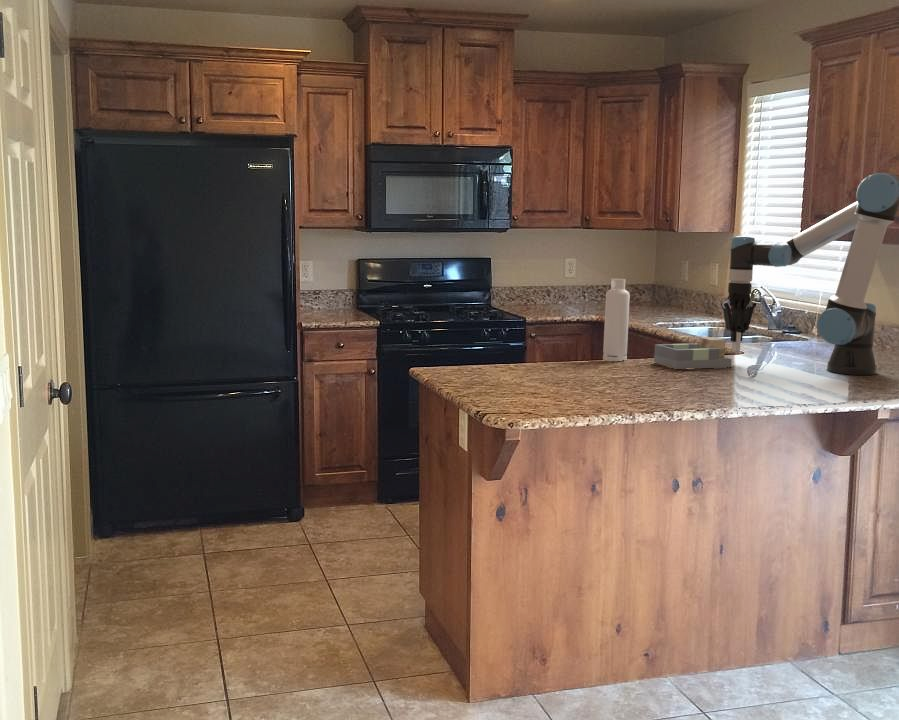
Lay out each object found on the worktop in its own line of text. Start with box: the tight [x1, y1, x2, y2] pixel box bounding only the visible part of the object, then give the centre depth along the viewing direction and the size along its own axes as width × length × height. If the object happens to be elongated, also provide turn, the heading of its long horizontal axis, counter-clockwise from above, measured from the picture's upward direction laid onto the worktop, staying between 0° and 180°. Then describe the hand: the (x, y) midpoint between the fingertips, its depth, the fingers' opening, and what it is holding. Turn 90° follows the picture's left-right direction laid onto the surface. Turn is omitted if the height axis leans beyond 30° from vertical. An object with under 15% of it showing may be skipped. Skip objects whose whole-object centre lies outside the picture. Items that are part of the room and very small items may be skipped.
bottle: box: [602, 278, 631, 362], centre depth 337 cm, size 8×8×28 cm
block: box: [699, 336, 727, 357], centre depth 331 cm, size 6×6×6 cm
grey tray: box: [653, 342, 732, 370], centre depth 329 cm, size 14×21×6 cm, turn 109°
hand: (735, 351), depth 335 cm, fingers closed
